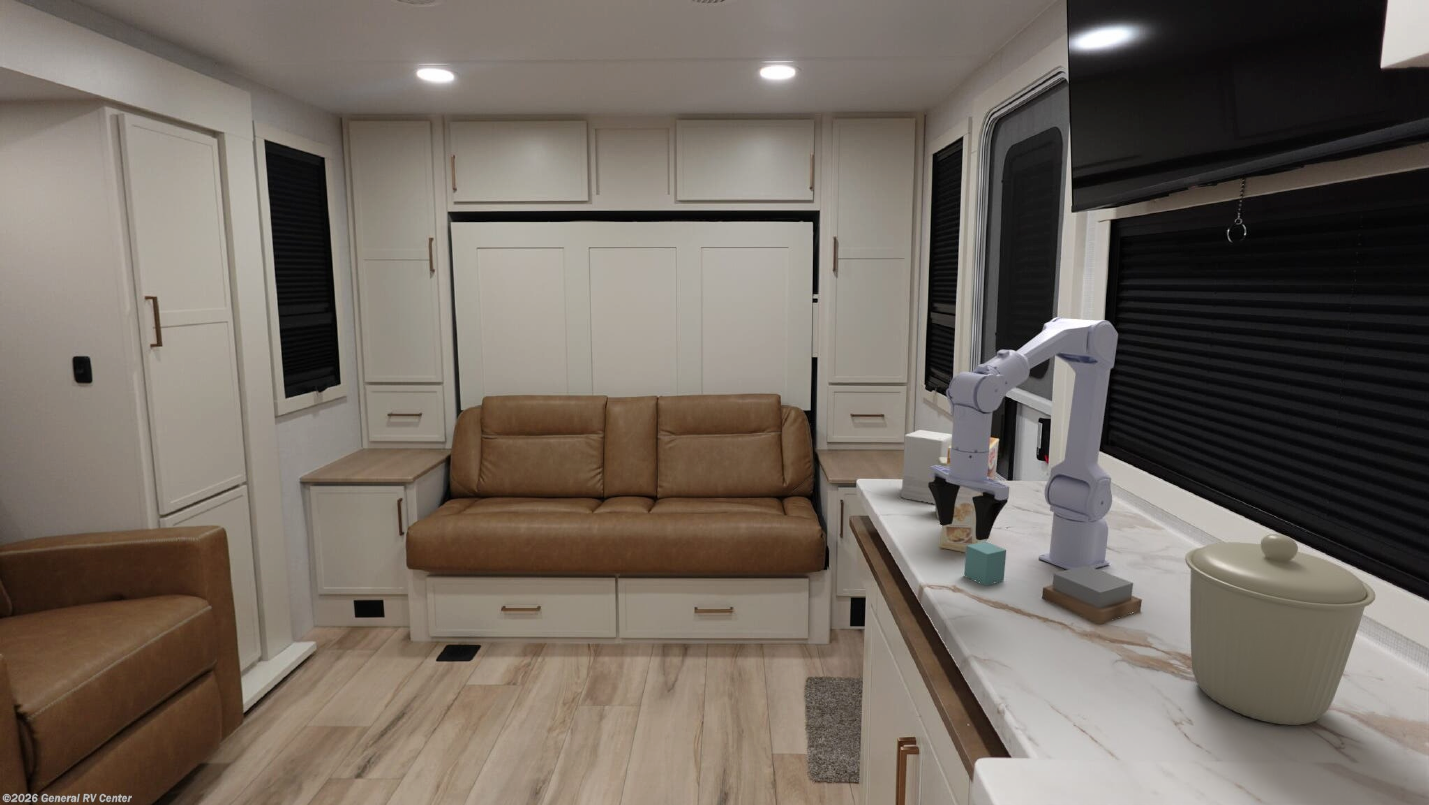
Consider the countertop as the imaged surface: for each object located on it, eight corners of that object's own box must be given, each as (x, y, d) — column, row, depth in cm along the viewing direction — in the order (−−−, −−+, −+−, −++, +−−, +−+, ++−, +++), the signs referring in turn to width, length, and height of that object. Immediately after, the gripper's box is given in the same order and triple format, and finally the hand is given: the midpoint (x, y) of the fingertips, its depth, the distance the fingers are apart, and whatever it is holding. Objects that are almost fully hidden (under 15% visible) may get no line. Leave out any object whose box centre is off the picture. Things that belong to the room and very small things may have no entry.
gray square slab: (1084, 579, 124) (1086, 565, 123) (1131, 598, 117) (1133, 583, 117) (1052, 588, 120) (1053, 573, 120) (1098, 608, 113) (1100, 592, 113)
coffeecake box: (977, 555, 139) (986, 452, 136) (938, 548, 142) (945, 447, 139) (992, 532, 152) (1000, 437, 149) (956, 526, 155) (963, 433, 152)
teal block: (982, 571, 131) (985, 541, 131) (1003, 581, 128) (1006, 550, 127) (964, 576, 129) (966, 545, 128) (984, 585, 125) (987, 554, 124)
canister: (1141, 661, 101) (1160, 509, 98) (1278, 665, 101) (1302, 513, 97) (1227, 743, 84) (1253, 561, 80) (1394, 749, 83) (1429, 567, 80)
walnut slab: (1081, 590, 126) (1083, 576, 125) (1140, 614, 117) (1141, 599, 117) (1041, 602, 121) (1043, 587, 120) (1099, 628, 112) (1101, 612, 112)
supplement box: (952, 497, 176) (957, 434, 174) (937, 505, 169) (942, 440, 167) (916, 489, 182) (920, 428, 179) (900, 497, 175) (904, 434, 172)
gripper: (918, 441, 123) (912, 521, 126) (988, 461, 111) (981, 549, 113) (949, 438, 127) (943, 516, 129) (1021, 456, 114) (1013, 542, 116)
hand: (963, 531), depth 121 cm, fingers open, 7 cm apart
